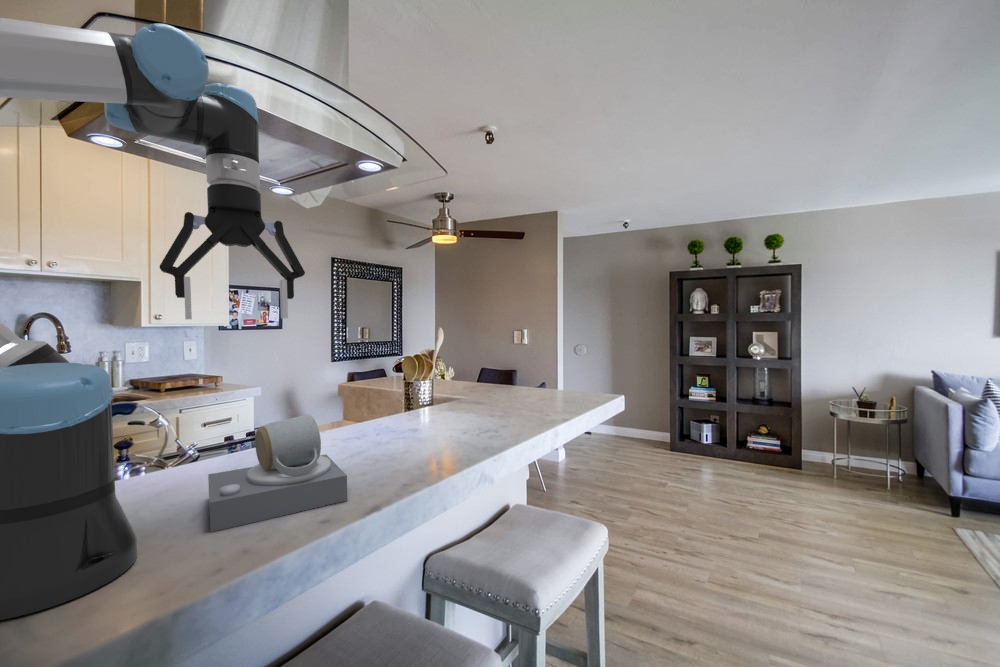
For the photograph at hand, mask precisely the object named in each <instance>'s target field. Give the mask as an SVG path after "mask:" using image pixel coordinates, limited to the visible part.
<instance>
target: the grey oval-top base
mask: <svg viewBox="0 0 1000 667" xmlns="http://www.w3.org/2000/svg"><path fill="white" fill-rule="evenodd" d="M309 463H310V462H309ZM309 463H305V464H300V465H295V466H290V467H292V468H296V467H303V466H306V465H308V464H309ZM207 476H208V477H207V478H208V500H209V501H208V502H209V503H208V506H209V525H210V529H209V530H210V533H213V532H218V531H223V530H226V529H230V528H235V527H240V526H244V525H247V524H252V523H257V522H261V521H262V522H263V521H266V520H269V519H274V518H279V517H283V516H287V515H288V516H289V515H292V514H297V513H300V511H301V512H305V511H304V510H306V511H310V510H313V508H314V509H318V508H317V507H319V508H322V507H321V506H323V507H326V506H325V505H327V506H330V505H329V504H332V505H334V504H333V503H336V504H340V503H339V502H341V503H344V502H343V501H345V502H348V501H347V500H349V498H348V475H347V474H346V473H345V471H343V470H342V469H341V468H340V467H339V466H338V465H337V464H336V463H335V462H334V461H333V459H331V457H330V456H328V455H327V453H326V454H325V453H324V454H320V456H319V458H318V460H317V463H316V466H315V468H314V469H313V470H312V471H311V472H309V473H307V474H305V475H301V476H287V475H284V474H282V473H281V472H279V471H278V470H265V469H263V468H262V467H261V465H260V464H259V463H258V464H256V465H253V466H251V467H244V468H239V469H234V470H233V469H232V470H227V471H221V472H215V473H209V474H207ZM309 509H310V510H309ZM296 512H297V513H296Z"/></svg>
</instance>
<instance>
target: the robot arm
mask: <svg viewBox="0 0 1000 667" xmlns="http://www.w3.org/2000/svg"><path fill="white" fill-rule="evenodd" d="M209 71H210V69H209V61H208V60H207V57H206V56H205V52H204V51H203V49H202V48H201V46H200V45H199V44H198V43H197V42H196V41H195V39H194V38H192V37H191V36H189V34H187V33H185V31H183V30H182V29H179V28H177V27H175V26H173V25H169V24H167V23H158V22H157V23H155V22H154V23H151V24H147V25H145V26H143V27H141V28H140V29H138V31H137V32H136V33H134V35H132V34H123V33H115V32H110V31H109V32H107V31H101V30H93V29H86V28H79V27H70V26H66V25H64V26H63V25H57V24H50V23H43V22H36V21H29V20H28V21H27V20H21V19H13V18H7V17H6V18H5V17H0V98H6V99H8V98H9V99H26V100H28V99H29V100H43V101H47V100H48V101H65V102H66V101H67V102H82V103H83V102H86V103H103V104H104V105H103V106H104V115H105V116H104V117H105V121H107V123H108V124H109V125H111V126H112V127H114V128H119V129H121V130H125V131H128V132H133V133H134V134H137V135H146V136H151V137H156V138H162V139H166V140H171V141H176V142H182V143H187V144H192V145H196V146H202V147H204V148H205V164H206V168H205V169H206V183H207V184H208V185H209V186H208V187H207V188H206V194H207V196H206V197H207V198H206V199H207V215H206V216H201V215H197V214H193V213H192V212H190V211H186V212H185V213H184V216H183V225H182V228H181V229H180V231H179V233H178V234H177V236H176V238H175V239H174V241H173V243H171V246H170V247H169V249H168V251H167V253H166V254H165V256H164V258H163V259H162V261H161V263H160V264H159V269H160V271H161V272H162V273H164V274H165V273H166V274H168V275H171V276H173V278H174V287H175V288H174V289H175V290H174V291H175V292H174V293H175V296H176V298H177V299H179V298H181V299H184V315H185V320H192V319H193V318H192V316H193V314H192V292H191V291H192V290H191V276H186V274H188V273H189V272H190V270H191V269H193V268H194V267H195V266H196V264H198V263H199V262H200V261H201V260H202V259H203V258H204V257H205V256H206V255H207V254H208V253H209V252H210V251H211V250H213V248H215V247H216V246H217V245H218V243H220V244H221V245H224V246H226V247H233V246H237V247H241V248H248V247H250V246H252V247H254V249H256V250H257V251H258V252H259V253H260V254H261V255H262V256H263V257H264V258H265V260H266V261H267V262H268V263H269V264H270V265H271V266H272V267H273V268H274V269H275V270H276V271H277V272H278V274H280V276H281V277H282V278H283V279H280V280H279V299H280V300H279V301H280V302H279V303H280V307H279V308H280V319H289V309H288V304H289V303H288V300H293V299H294V297H295V289H294V288H295V286H294V285H295V284H294V282H295V279H298V278H302V277H304V276H305V274H306V271H305V269H304V268H303V266H302V264H301V262H300V261H299V259H298V257H297V255H296V253H295V251H294V250H293V247H292V246H291V244H290V242H289V241H288V239H287V236H286V235H285V232H284V231H285V230H284V226H283V222H282V221H281V220H276V221H275V222H264V220H263V218H262V198H261V193H260V192H259V190H260V189H261V176H260V174H261V172H260V157H259V156H260V155H259V154H260V152H259V149H260V147H259V146H260V145H259V144H260V143H259V141H260V140H259V138H260V137H259V132H260V131H259V128H260V123H259V117H258V116H259V115H258V114H259V113H258V108H257V107H258V106H257V103H256V100H255V98H254V96H253V95H252V94H251V93H250V92H248V91H247V90H246V89H243V88H242V87H239V86H237V85H233V84H231V83H227V84H223V83H221V82H213V83H210V84H209V83H208V84H207V82H208V78H209V73H210V72H209ZM202 225H205V227H206V228H207V229H208V230H209V232H211V234H210V235H209V236H207V238H206V239H205V240H204V241H203V243H201V245H199V246H198V247H197V248H196V249H195V250H194V251H193V252H192V253H191V254H190V255H189V256H188V257H187V258H185V260H183V262H181V263H180V264H179V266H177V267H176V266H174V265H175V263H176V261H177V259H178V258H179V256H180V254H181V253H182V251H183V249H184V247H185V246H186V244H187V243H188V241H189V240H190V237H191V235H192V234H193V231H194V230H198V229H200V226H202ZM264 231H268V233H269V235H271V236H273V237H274V239H275V241H276V243H277V245H278V247H279V248H280V251H281V252H282V254H283V256H284V257H285V260H286V261H287V263H288V264H289V266H290V268H291V270H292V271H291V270H290V269H289V267H287V266H286V265H285V263H283V261H282V260H281V259H280V258H279V257H278V256H277V255H276V254H275V253H274V251H273V250H272V249H271V248H269V246H268V245H267V243H266V242H265V241H264V239H263V238H261V236H260V235H261V234H262V233H263V232H264ZM113 398H114V389H113V386H112V384H111V378H110V374H109V372H107V370H105V369H104V368H102V367H101V366H99V365H95V364H88V363H87V364H83V363H77V362H70V361H69V360H68V359H66V358H65V357H64V356H63V355H62V354H60V353H59V352H58V351H57V350H56V349H55V348H53V347H52V345H50V344H49V343H48V342H46V341H45V340H43V341H42V340H29V339H23V338H20V337H19V336H18V335H17V334H16V333H14V332H13V330H11V329H10V328H9V327H7V326H6V325H5V324H4V323H3V322H1V321H0V621H3V620H9V619H12V618H17V617H21V616H25V615H30V614H33V613H37V612H40V611H42V610H47V609H49V608H53V607H56V606H58V605H61V604H64V603H67V602H68V601H71V600H75V599H77V598H79V597H82V596H83V595H86V594H89V593H90V592H92V591H95V590H96V589H99V588H100V587H101V588H102V586H105V585H107V584H108V583H110V582H112V581H113V580H115V579H116V578H118V577H120V576H121V575H122V574H124V573H125V572H126V571H127V570H128V569H129V568H130V567H131V566H132V565H133V564H134V563H135V562H136V560H137V557H138V545H137V536H136V533H135V532H134V530H133V527H132V526H131V523H130V522H129V519H128V517H127V515H126V514H125V511H124V510H123V508H122V505H121V504H120V502H119V500H118V497H117V495H116V482H115V481H116V480H115V479H116V478H115V477H116V476H115V473H116V472H115V454H114V433H113V432H114V431H113V430H114V429H113V428H114V427H113V407H112V406H113V405H112V404H113V402H112V400H113Z"/></svg>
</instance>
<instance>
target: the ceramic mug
mask: <svg viewBox="0 0 1000 667" xmlns="http://www.w3.org/2000/svg"><path fill="white" fill-rule="evenodd" d="M254 440H255V441H254V443H255V453H256V456H257V461H258V464H260V465H261V467H262V468H263V469H265V470H278V471H279V472H281V473H282V474H284V475H287V476H301V475H305V474H307V473H309V472H311V471H312V470H313V469H314V468H315V466H316V463H317V460H318V458H319V456H320V455H321V452H322V451H321V450H322V446H321V445H322V439H321V434H320V429H319V427H318V423H317V421H316V420H315V418H314V417H313V416H312V415H311V414H309V413H308V414H304V415H299V416H295V417H291V418H290V417H289V418H286V419H283V420H282V419H281V420H279V421H278V420H277V421H273V422H268V423H267V424H266V423H265V425H261V426H260V427H259V428H258V429H257V430H256V433H255V438H254ZM309 462H310V463H309ZM305 463H309V464H308V465H306V466H303V467H296V468H292V467H290V466H295V465H300V464H305Z"/></svg>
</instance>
